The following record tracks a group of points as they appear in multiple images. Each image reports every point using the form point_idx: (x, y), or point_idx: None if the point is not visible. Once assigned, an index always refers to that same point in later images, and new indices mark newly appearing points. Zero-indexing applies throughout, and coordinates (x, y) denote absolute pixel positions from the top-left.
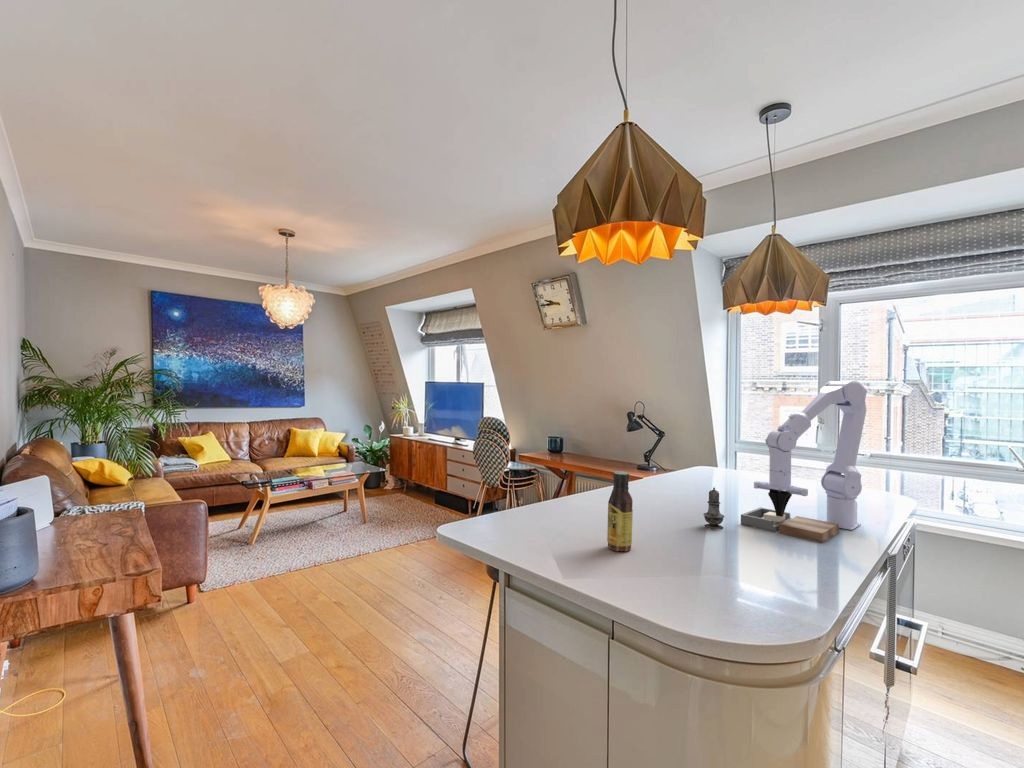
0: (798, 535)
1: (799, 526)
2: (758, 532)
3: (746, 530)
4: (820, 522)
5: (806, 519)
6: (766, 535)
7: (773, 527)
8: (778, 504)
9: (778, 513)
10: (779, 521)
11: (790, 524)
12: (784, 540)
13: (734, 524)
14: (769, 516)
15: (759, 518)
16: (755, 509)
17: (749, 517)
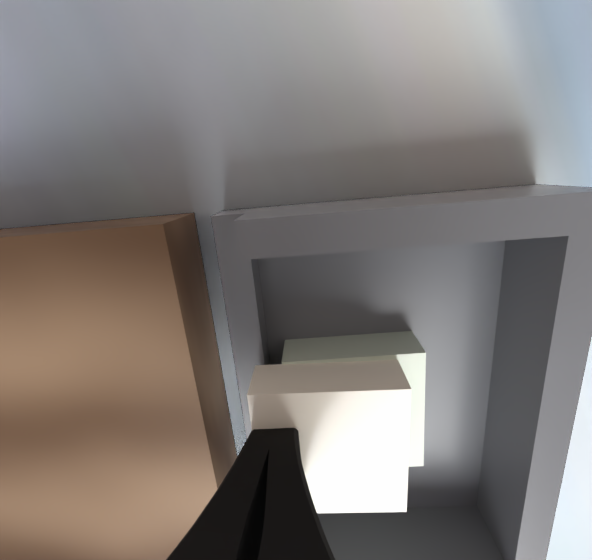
0: (37, 227)
1: (27, 314)
2: (308, 63)
3: (417, 21)
4: (45, 541)
5: (144, 546)
6: (211, 27)
7: (231, 213)
8: (236, 544)
9: (268, 445)
10: (254, 373)
11: (107, 313)
12: (34, 13)
13: (587, 136)
14: (345, 382)
15: (379, 214)
16: (549, 513)
17: (497, 199)
